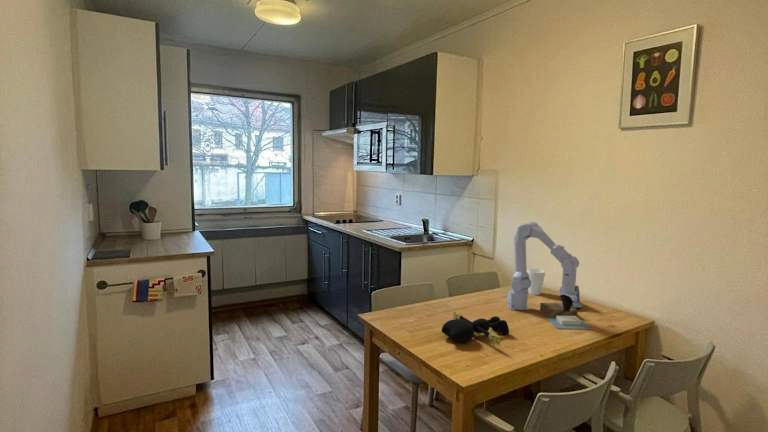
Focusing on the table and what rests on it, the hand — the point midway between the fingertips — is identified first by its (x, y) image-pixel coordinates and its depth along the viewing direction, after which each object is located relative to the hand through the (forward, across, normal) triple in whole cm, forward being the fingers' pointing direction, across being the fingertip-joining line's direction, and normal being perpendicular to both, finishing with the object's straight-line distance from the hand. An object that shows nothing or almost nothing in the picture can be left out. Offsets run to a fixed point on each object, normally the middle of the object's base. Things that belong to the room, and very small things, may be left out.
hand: (566, 310), depth 201 cm
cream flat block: (+3, -2, 0) cm, 3 cm away
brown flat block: (+5, +9, 0) cm, 10 cm away
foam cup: (+5, +43, -1) cm, 43 cm away
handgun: (+5, +25, -13) cm, 28 cm away
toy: (+5, -19, +47) cm, 51 cm away
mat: (+5, -3, 0) cm, 6 cm away
